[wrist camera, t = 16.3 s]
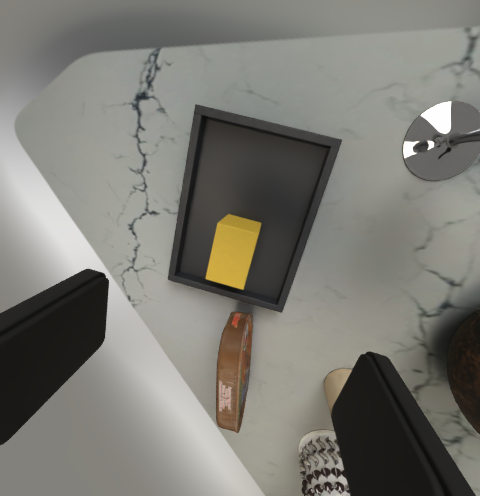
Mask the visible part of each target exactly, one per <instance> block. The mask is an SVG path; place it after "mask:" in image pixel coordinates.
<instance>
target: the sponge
mask: <svg viewBox="0 0 480 496" xmlns="http://www.w3.org/2000/svg"><path fill="white" fill-rule="evenodd" d="M261 224H262V223H260V222H256V221H253V220H249V219H245V218H242V217H238V216H234V215H230V214H228V215H227V216H225V217H224V218H223V219H222V220H221V221H219V222H218V223H217V228H216V232H215V237H214V242H213V246H212V251H211V255H210V260H209V265H208V269H207V274H206V279H207V280H210V281H214V282H217V283H221V284H224V285H228V286H231V287H235V288H238V289H242V290H243V289H244V286H245V282H246V279H247V275H248V271H249V268H250V264H251V261H252V257H253V253H254V250H255V246H256V243H257V239H258V235H259V232H260V228H261Z"/></svg>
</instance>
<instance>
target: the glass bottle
mask: <svg viewBox="0 0 480 496" xmlns="http://www.w3.org/2000/svg"><path fill="white" fill-rule="evenodd" d="M447 375H448V381H449V385H450V389H451V391H452V394H453V396H454V399H455V401H456V403H457V404H458V406H459V408H460V410H461V412H462V413H463V415H464V416H465V418H466V419H467V420H468V422H469V423H470V424H471V425H472V426H473V428H474V429H475V430H476V431H477V432H478V433H479V434H480V309H479V310H477V311H476V312H474V313H473V314H472V315H471V316H470V317H469V318H467V319H466V320H465V321H464V322H463V323H462V324H461V326H460V327H459V328H458V329H457V331H456V332H455V334H454V336H453V338H452V340H451V342H450V345H449V349H448V353H447Z"/></svg>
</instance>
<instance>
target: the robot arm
mask: <svg viewBox="0 0 480 496" xmlns="http://www.w3.org/2000/svg"><path fill="white" fill-rule="evenodd" d="M108 288H109V280H108V279H107V278H106V276H105V274H104V273H101V272H98V271H95V270H91V269H85V270H83V271H81V272H79V273H77V274H75V275H74V276H71V277H70V278H68V279H66V280H64V281H62V282H60V283H58V284H56V285H54V286H52V287H50V288H48V289H46V290H44V291H43V292H41V293H39V294H37V295H35V296H33V297H31V298H30V299H27V300H25V301H23V302H21V303H19V304H18V305H16V306H14V307H12V308H10V309H8V310H6V311H4V312H2V313H0V445H2V444H4V443H5V442H7V441H8V440H9V439H10V438H11V437H12V436H13V435H14V434H15V433H16V432H17V431H18V430H19V429H20V428H21V427H22V426H23V425H24V424H25V423H26V422H27V421H28V419H30V418H31V417H32V416H33V415H34V414H35V413H36V412H37V411H38V410H39V409H40V407H41V406H42V405H43V404H44V403H45V402H46V401H47V400H48V399H49V398H50V397H51V396H52V395H53V394H54V393H55V392H56V391H57V390H58V389H59V388H60V387H61V386H62V385H63V384H64V383H65V382H66V381H67V380H68V379H69V378H70V377H71V376H72V375H73V374H74V373H75V372H76V371H77V370H78V369H79V368H80V367H81V366H82V365H83V364H84V363H85V362H86V361H87V360H88V359H89V358H90V357H91V356H92V355H93V354H94V352H96V350H98V349H99V347H100V346H101V345H102V343H103V341H104V339H105V330H106V316H107V302H108ZM331 418H332V422H333V426H334V430H335V435H336V439H337V443H338V447H339V451H340V455H341V459H342V463H343V467H344V471H345V475H346V479H347V483H348V488H349V492H350V496H476V495H475V494H474V492H473V491H472V489H471V487H470V486H469V484H468V483H467V481H466V480H465V478H464V476H463V475H462V473H461V472H460V470H459V468H458V467H457V465H456V464H455V462H454V461H453V459H452V457H451V456H450V454H449V453H448V451H447V450H446V448H445V446H444V445H443V443H442V442H441V440H440V438H439V437H438V435H437V434H436V432H435V431H434V429H433V427H432V426H431V424H430V423H429V421H428V419H427V418H426V416H425V415H424V413H423V412H422V410H421V408H420V407H419V405H418V404H417V402H416V401H415V399H414V397H413V396H412V394H411V393H410V391H409V389H408V388H407V386H406V385H405V383H404V382H403V380H402V378H401V377H400V375H399V374H398V372H397V371H396V369H395V367H394V366H393V364H392V363H391V361H390V360H389V358H388V357H386V356H383V355H380V354H376V353H373V352H367V353H366V354H362V355H360V357H359V358H358V360H357V362H356V364H355V366H354V368H353V370H352V371H351V373H350V375H349V377H348V379H347V381H346V383H345V384H344V386H343V388H342V390H341V392H340V394H339V396H338V397H337V399H336V401H335V403H334V405H333V407H332V411H331Z"/></svg>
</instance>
